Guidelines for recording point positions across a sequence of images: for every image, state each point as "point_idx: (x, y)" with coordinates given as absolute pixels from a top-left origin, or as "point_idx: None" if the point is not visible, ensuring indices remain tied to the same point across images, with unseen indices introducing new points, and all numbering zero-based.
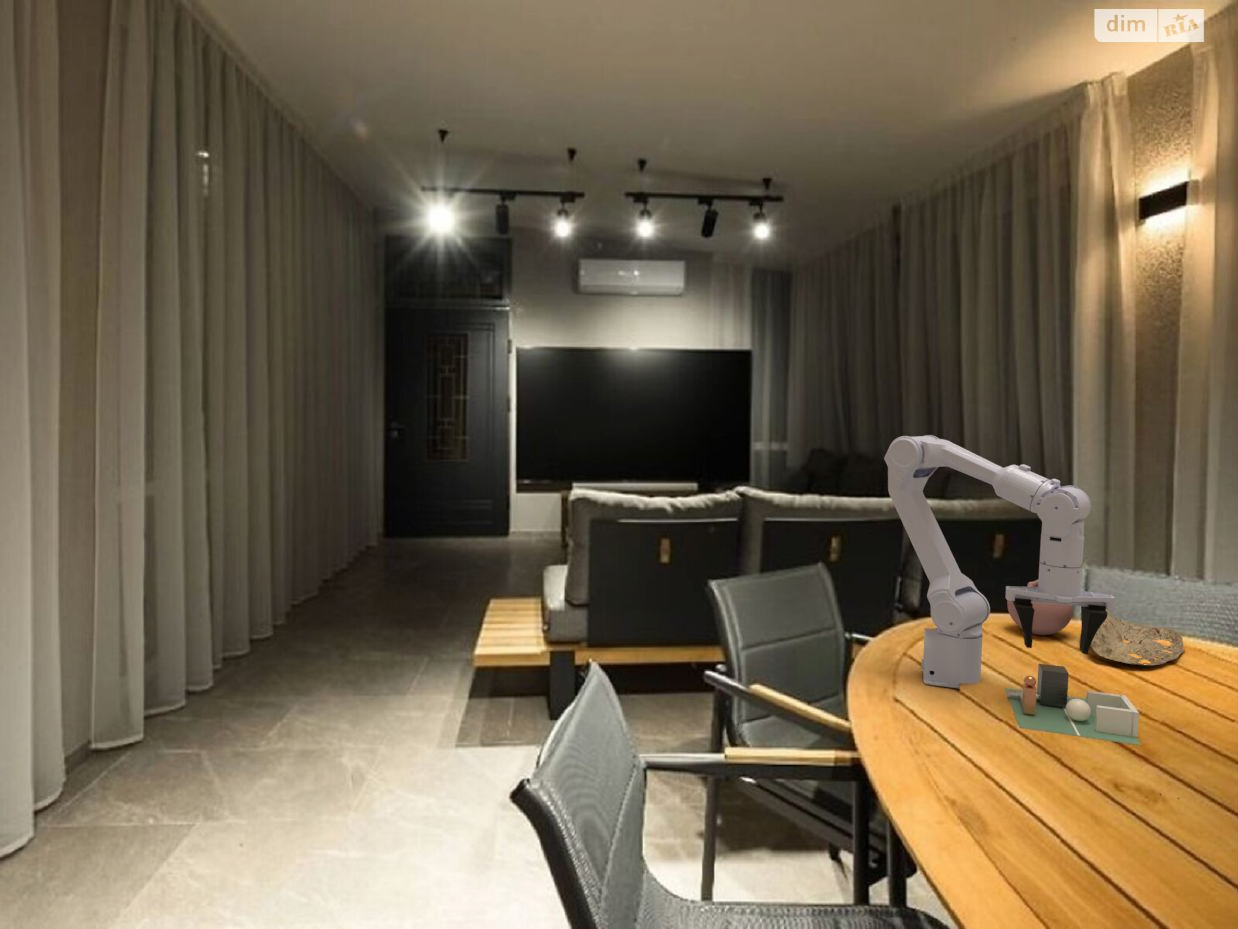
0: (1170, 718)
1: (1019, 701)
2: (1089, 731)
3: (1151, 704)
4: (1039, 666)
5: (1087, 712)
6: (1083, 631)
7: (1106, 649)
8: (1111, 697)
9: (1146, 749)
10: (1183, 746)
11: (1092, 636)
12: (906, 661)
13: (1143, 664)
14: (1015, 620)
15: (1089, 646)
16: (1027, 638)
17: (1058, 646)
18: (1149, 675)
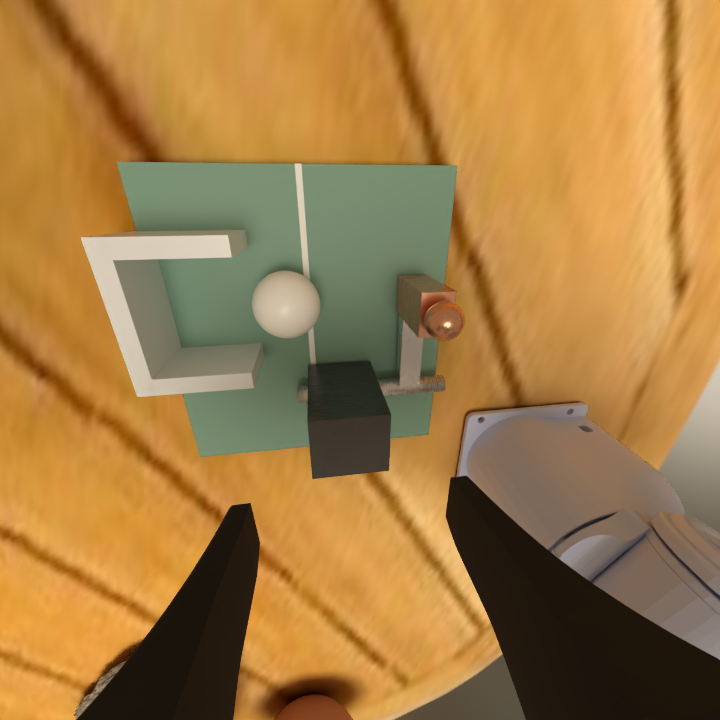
0: (71, 445)
1: None
2: (264, 219)
3: (117, 503)
4: (389, 451)
5: (262, 280)
6: (231, 639)
7: None
8: (182, 374)
9: (115, 199)
10: (20, 270)
11: (182, 595)
12: None
13: None
14: (350, 718)
15: (215, 536)
16: (493, 505)
17: (282, 671)
18: (127, 630)
